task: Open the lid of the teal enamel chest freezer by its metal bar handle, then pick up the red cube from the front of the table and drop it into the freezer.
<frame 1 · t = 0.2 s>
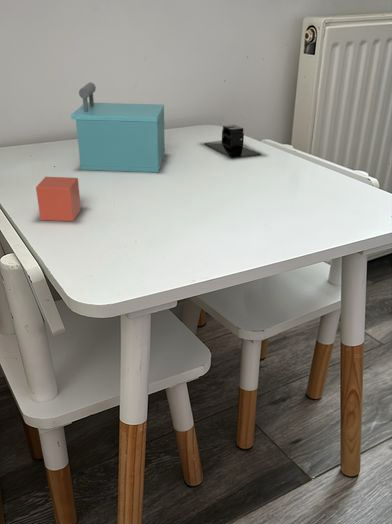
freezer: (124, 162, 109), on the table
red cube: (61, 214, 85), on the table
freezer lid: (118, 100, 103), point 11 cm above the table, hinge at 0.0°
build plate: (232, 150, 118), on the table
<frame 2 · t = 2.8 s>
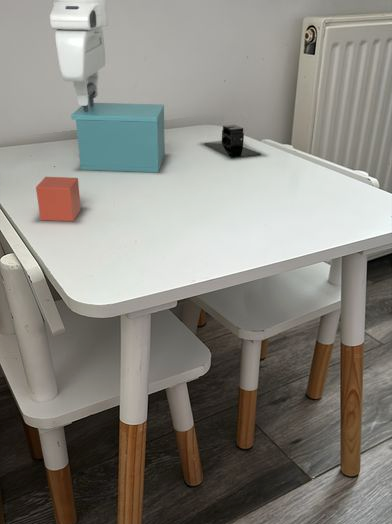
hand: (88, 101, 103), 11 cm above the table, tool pointing down, fingers closed on freezer lid, 6 cm apart
freezer lid: (118, 100, 103), point 11 cm above the table, hinge at -0.1°, touching gripper
everything else where it was.
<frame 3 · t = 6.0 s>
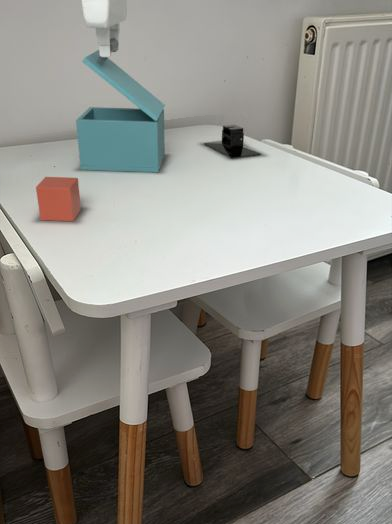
hand: (109, 54, 98), 19 cm above the table, tool pointing down, fingers closed on freezer lid, 6 cm apart
freezer lid: (132, 75, 100), point 15 cm above the table, hinge at 36.9°, touching gripper
everything else where it was.
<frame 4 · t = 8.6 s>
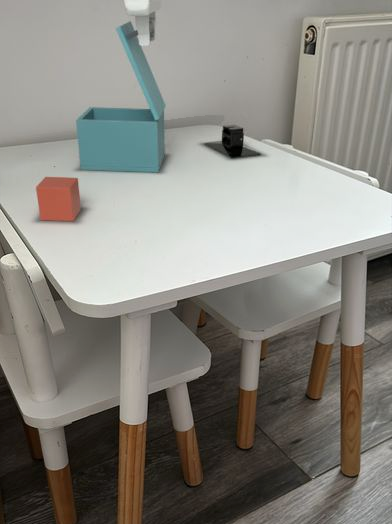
hand: (147, 43, 97), 21 cm above the table, tool pointing down, fingers closed on freezer lid, 6 cm apart
freezer lid: (152, 65, 99), point 17 cm above the table, hinge at 66.4°, touching gripper
everything else where it was.
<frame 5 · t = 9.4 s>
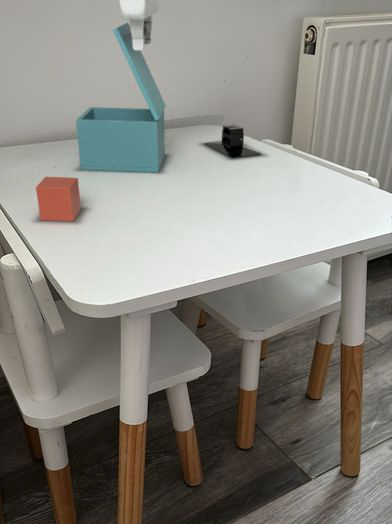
hand: (142, 46, 97), 20 cm above the table, tool pointing down, fingers open, 8 cm apart
freezer lid: (151, 66, 99), point 17 cm above the table, hinge at 64.3°
everything else where it was.
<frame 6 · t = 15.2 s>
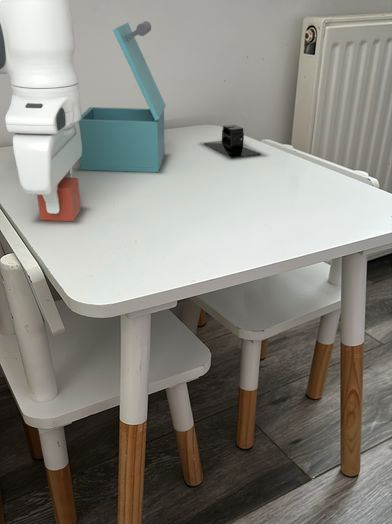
hand: (60, 204, 84), 2 cm above the table, tool pointing down, fingers closed on red cube, 5 cm apart
red cube: (61, 214, 85), on the table, touching gripper
everything else where it was.
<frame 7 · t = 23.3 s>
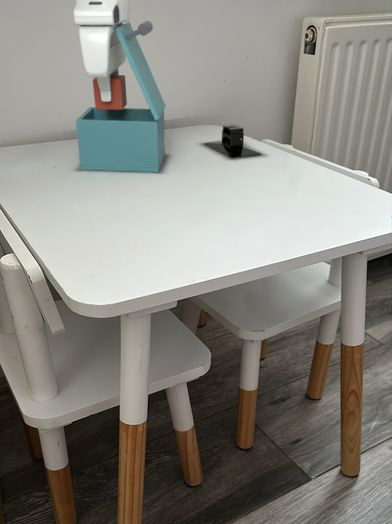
hand: (110, 97, 102), 12 cm above the table, tool pointing down, fingers closed on red cube, 5 cm apart
red cube: (111, 106, 103), point 10 cm above the table, touching gripper
freezer lid: (152, 65, 99), point 17 cm above the table, hinge at 65.4°, touching arm
everything else where it was.
when the fingers open (12 cm above the table, at t = 23.5 s): red cube drops 9 cm, resting on freezer.
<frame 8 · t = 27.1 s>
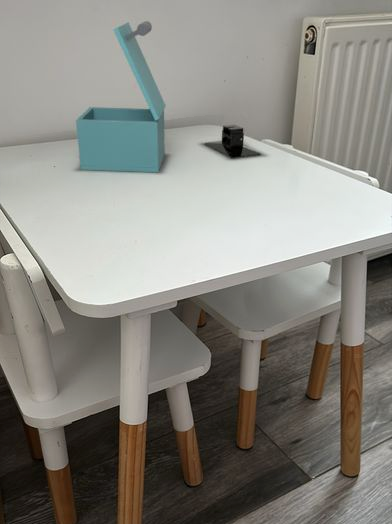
red cube: (114, 157, 108), point 1 cm above the table, touching freezer
freezer lid: (151, 66, 99), point 17 cm above the table, hinge at 64.8°
everything else where it was.
at the end: freezer lid at +65° (first picture: +0°); red cube inside the target area in the freezer (1.8 cm from its centre), point 0.8 cm above the freezer's base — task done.
